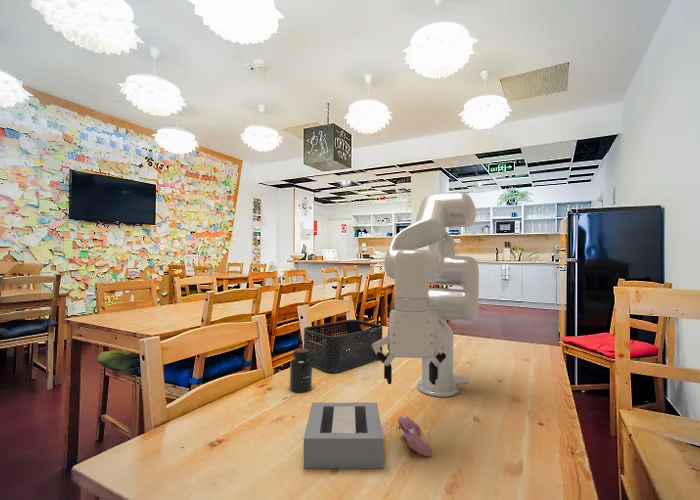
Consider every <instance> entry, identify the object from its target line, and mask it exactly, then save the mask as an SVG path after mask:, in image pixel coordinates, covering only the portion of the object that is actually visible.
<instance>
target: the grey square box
mask: <svg viewBox="0 0 700 500" xmlns="http://www.w3.org/2000/svg"><path fill="white" fill-rule="evenodd" d="M334 406H355V425H356V433H354V434H345V433H342V434H340V433H339V434H334V433H332V424H333V413H334ZM307 419H308V420H307V423H306V427H305V432H304V436H303V469H384V435H383V430H382V422H381V419H380V413H379V406H378V402H317V401H316V402H311V406H310V411H309V414H308V418H307ZM361 432H363V433H361ZM364 432H365V433H364Z"/></svg>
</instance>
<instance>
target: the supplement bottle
mask: <svg viewBox="0 0 700 500" xmlns="http://www.w3.org/2000/svg"><path fill="white" fill-rule="evenodd" d="M308 357H309V350H308V349H304V348H297V349H296V348H295V349H294V350H293V358H291V360H290V363H289V389H290V390H291V391H292V392H295V393H306V392H309V391H310V390H311V389H312V383H313V382H312V381H313V366H312V361H311V359H310V358H308Z"/></svg>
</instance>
